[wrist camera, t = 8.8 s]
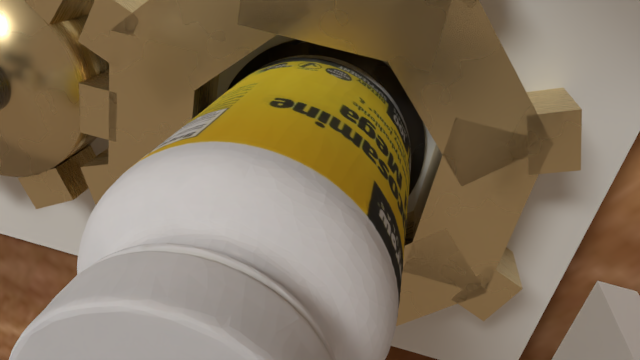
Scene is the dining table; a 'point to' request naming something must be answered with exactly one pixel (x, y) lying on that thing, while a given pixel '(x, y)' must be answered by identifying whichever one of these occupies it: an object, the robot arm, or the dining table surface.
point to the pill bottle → (248, 231)
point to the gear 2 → (402, 85)
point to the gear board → (543, 202)
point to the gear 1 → (50, 98)
